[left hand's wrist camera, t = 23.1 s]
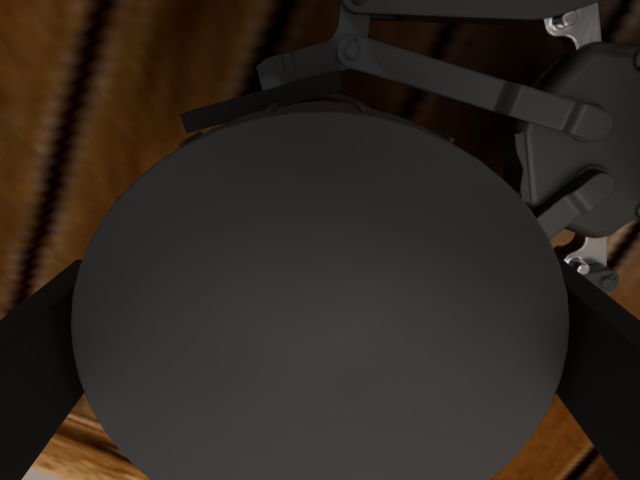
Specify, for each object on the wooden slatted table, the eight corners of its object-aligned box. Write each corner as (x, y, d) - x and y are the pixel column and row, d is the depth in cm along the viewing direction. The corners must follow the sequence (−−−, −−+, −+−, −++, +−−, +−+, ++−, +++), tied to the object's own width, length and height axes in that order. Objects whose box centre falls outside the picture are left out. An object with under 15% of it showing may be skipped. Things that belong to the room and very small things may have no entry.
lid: (273, 523, 15) (267, 591, 13) (16, 266, 12) (-45, 306, 10) (596, 365, 13) (645, 419, 11) (391, -9, 9) (409, -29, 7)
